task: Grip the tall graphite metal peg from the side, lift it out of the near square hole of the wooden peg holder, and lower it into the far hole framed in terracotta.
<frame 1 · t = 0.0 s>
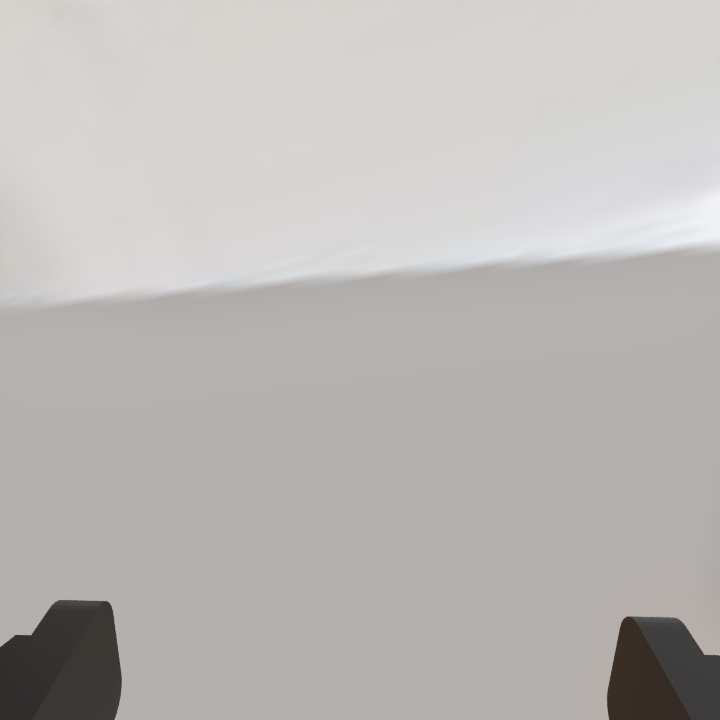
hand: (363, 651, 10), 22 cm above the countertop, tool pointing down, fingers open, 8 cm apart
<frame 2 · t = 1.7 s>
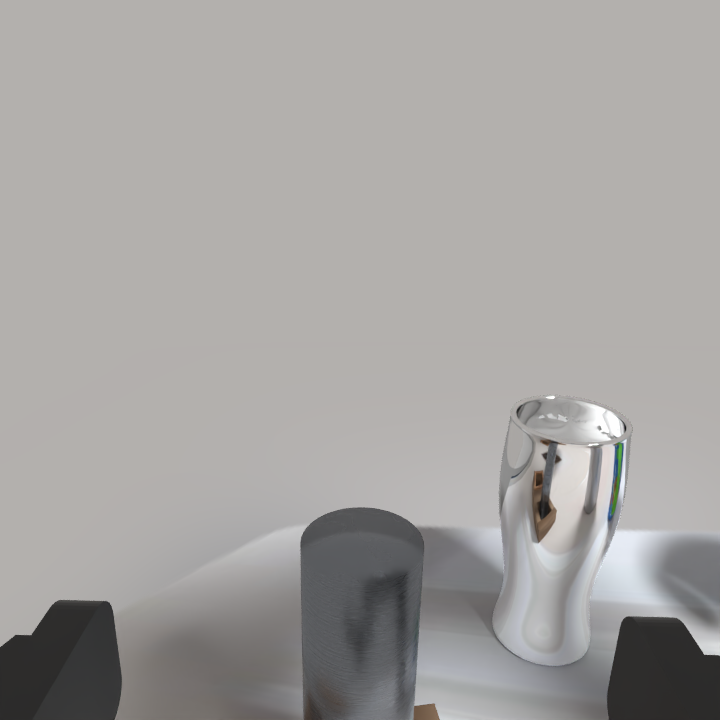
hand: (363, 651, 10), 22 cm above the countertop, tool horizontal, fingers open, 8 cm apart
beer glass: (539, 632, 40), on the countertop
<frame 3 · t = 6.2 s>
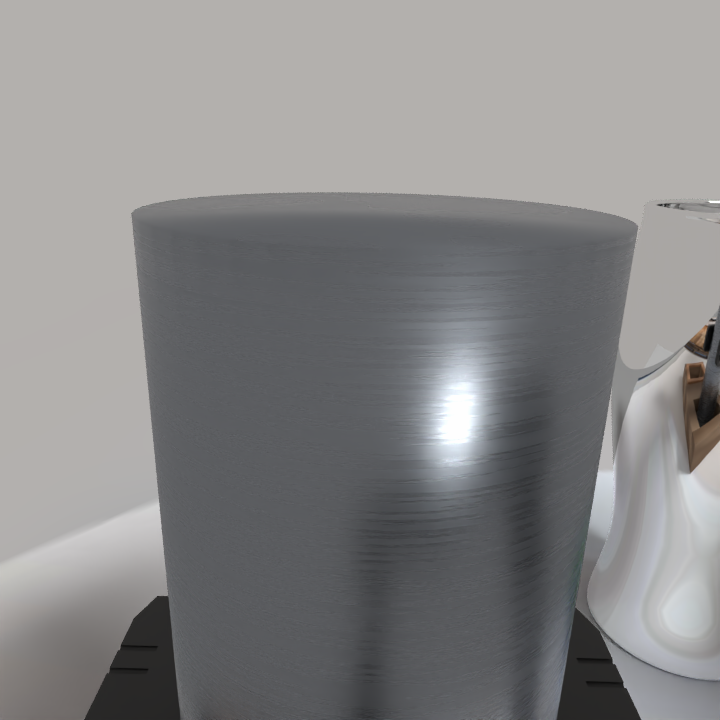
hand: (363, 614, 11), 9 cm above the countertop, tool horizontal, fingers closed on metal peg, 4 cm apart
beer glass: (669, 621, 24), on the countertop
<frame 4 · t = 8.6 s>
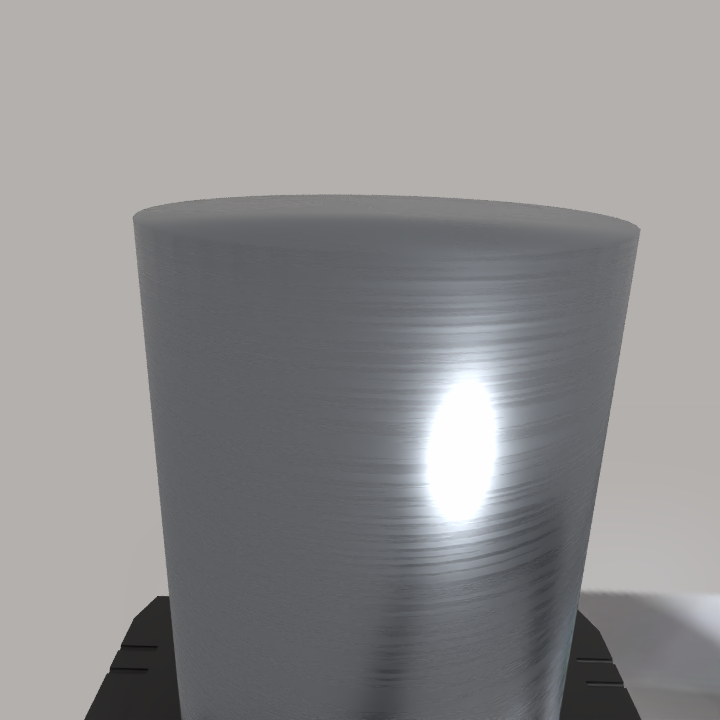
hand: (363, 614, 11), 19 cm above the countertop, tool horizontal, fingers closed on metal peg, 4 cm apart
when the fingers open (10 cm above the countertop, at t = 11.1 s): metal peg drops 1 cm, on the countertop.
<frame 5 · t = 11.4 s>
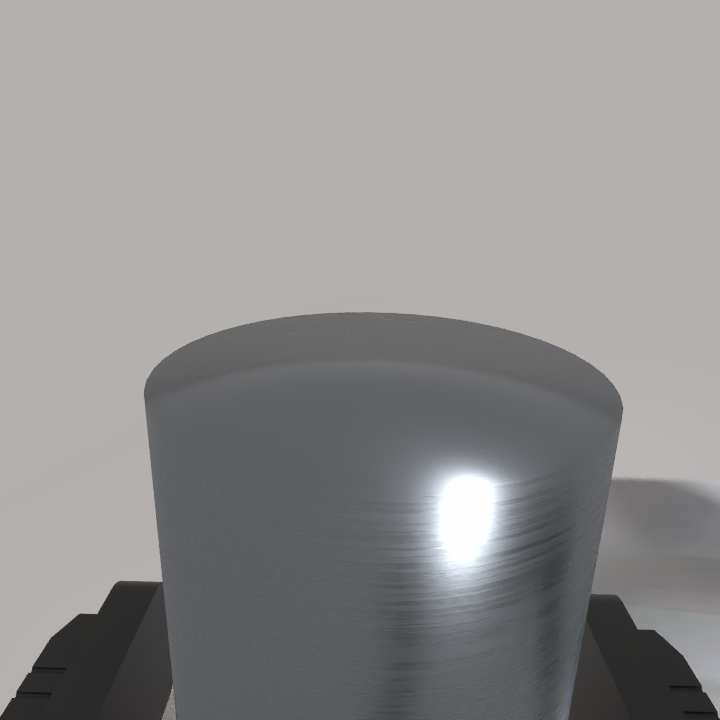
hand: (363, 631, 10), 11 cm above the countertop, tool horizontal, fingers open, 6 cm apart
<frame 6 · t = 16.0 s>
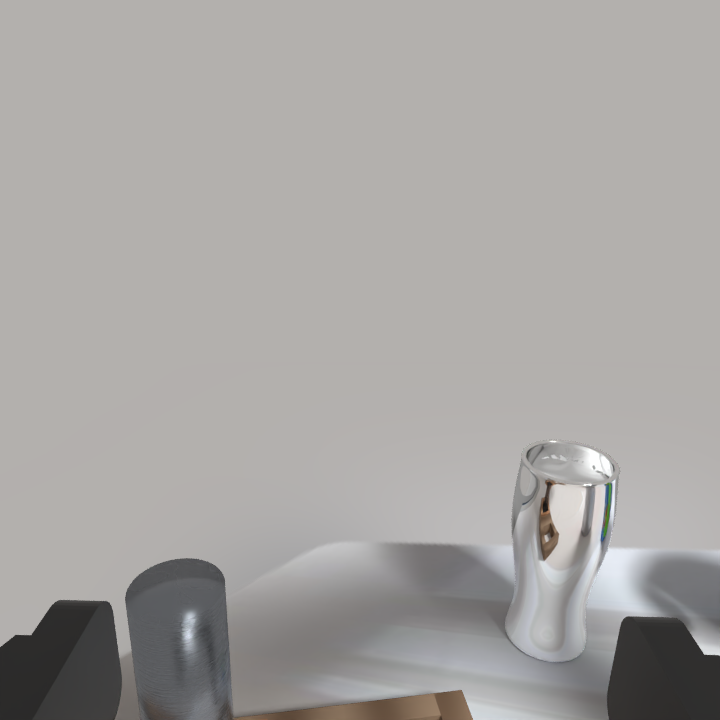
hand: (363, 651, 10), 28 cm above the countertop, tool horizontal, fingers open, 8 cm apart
beer glass: (544, 634, 48), on the countertop
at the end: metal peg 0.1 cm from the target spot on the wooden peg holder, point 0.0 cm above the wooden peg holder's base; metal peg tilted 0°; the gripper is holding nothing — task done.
